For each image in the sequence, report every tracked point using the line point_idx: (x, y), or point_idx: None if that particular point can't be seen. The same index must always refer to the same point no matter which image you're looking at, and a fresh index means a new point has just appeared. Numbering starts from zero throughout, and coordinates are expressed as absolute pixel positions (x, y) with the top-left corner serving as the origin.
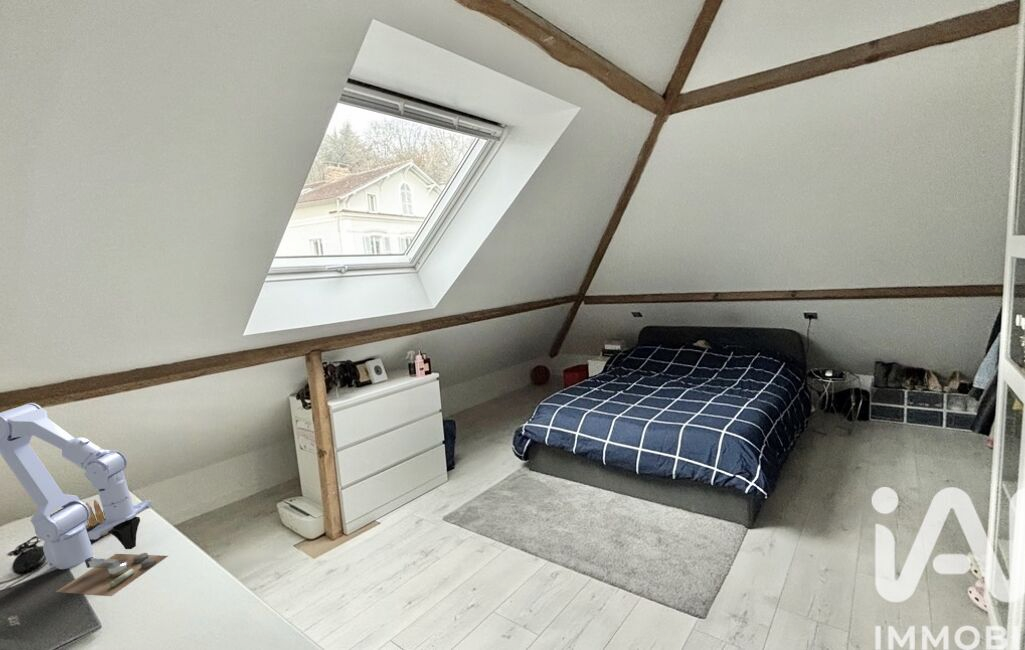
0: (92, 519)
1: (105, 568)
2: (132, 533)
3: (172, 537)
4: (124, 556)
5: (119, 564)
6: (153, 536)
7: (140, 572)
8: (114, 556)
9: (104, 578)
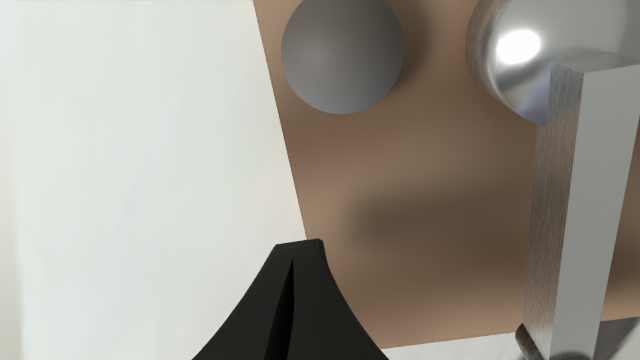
0: None
1: (474, 251)
2: (267, 337)
3: (36, 195)
4: (340, 266)
5: (564, 41)
6: (112, 341)
7: None
8: None
9: None
